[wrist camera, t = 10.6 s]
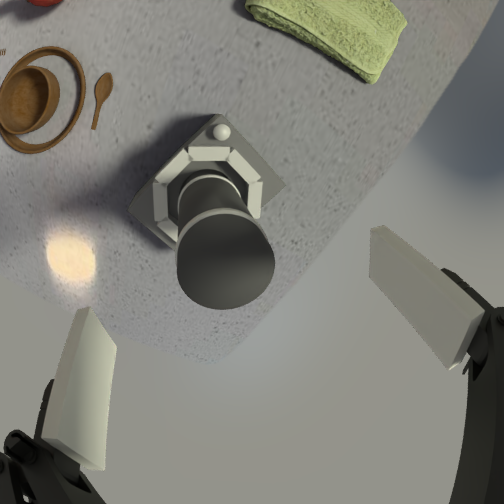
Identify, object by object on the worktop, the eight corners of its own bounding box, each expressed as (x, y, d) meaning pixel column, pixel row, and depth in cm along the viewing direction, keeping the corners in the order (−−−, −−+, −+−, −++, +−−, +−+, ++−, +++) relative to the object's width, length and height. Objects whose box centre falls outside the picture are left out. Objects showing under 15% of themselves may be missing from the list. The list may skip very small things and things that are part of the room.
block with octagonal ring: (195, 247, 33) (198, 276, 28) (133, 193, 29) (122, 214, 23) (272, 175, 31) (292, 190, 26) (214, 112, 27) (222, 112, 21)
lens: (187, 228, 27) (192, 320, 16) (171, 176, 24) (160, 239, 13) (240, 214, 27) (282, 295, 16) (229, 161, 25) (268, 209, 14)
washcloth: (369, 89, 29) (385, 89, 26) (236, 15, 23) (242, 6, 20) (400, 18, 24) (415, 14, 22) (284, -56, 18) (293, -67, 15)
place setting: (-19, 143, 21) (-47, 153, 16) (26, -9, 13) (4, -22, 8) (95, 161, 27) (77, 173, 22) (153, -9, 19) (148, -31, 14)
